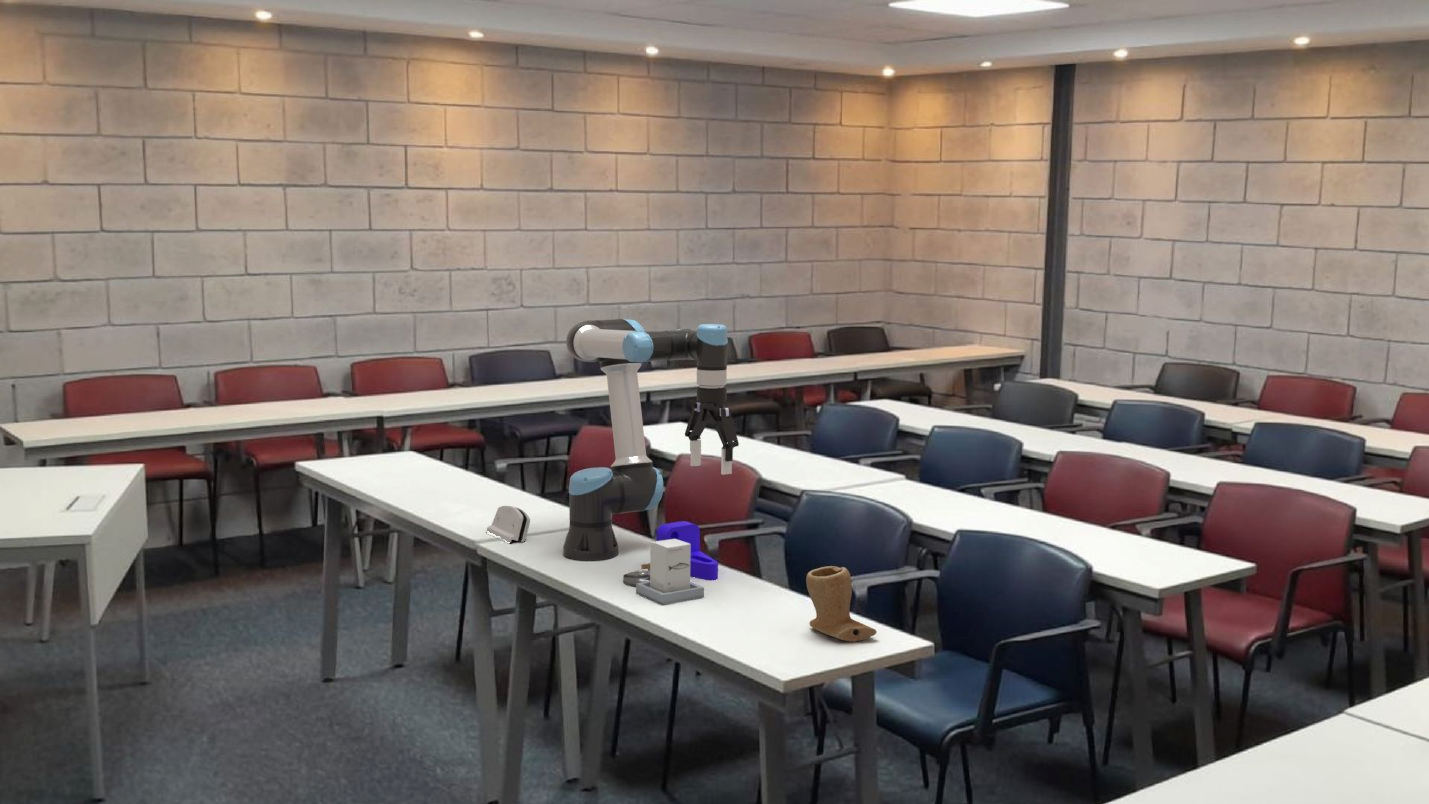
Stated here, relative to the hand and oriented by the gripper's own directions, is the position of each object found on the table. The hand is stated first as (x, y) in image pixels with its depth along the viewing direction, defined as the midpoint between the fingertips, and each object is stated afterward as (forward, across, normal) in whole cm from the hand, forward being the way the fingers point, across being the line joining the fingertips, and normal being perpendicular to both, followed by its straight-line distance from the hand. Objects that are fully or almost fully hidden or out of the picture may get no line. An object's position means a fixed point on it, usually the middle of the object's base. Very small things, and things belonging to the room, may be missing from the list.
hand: (710, 469), depth 325 cm
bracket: (+29, +9, -1) cm, 30 cm away
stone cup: (+29, -52, +2) cm, 60 cm away
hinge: (+29, +70, +22) cm, 79 cm away
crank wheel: (+29, +8, +15) cm, 33 cm away
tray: (+29, -6, +16) cm, 33 cm away
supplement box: (+28, -6, +16) cm, 33 cm away
